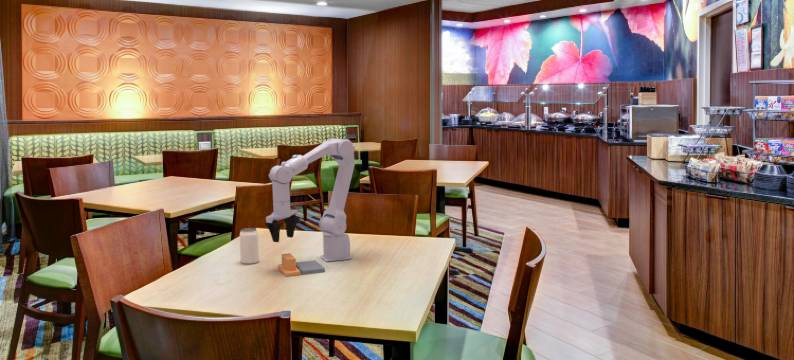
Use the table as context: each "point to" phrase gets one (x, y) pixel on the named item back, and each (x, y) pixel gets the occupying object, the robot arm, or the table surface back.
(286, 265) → the stub
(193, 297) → the table surface
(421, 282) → the table surface
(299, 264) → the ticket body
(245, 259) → the can
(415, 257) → the table surface
